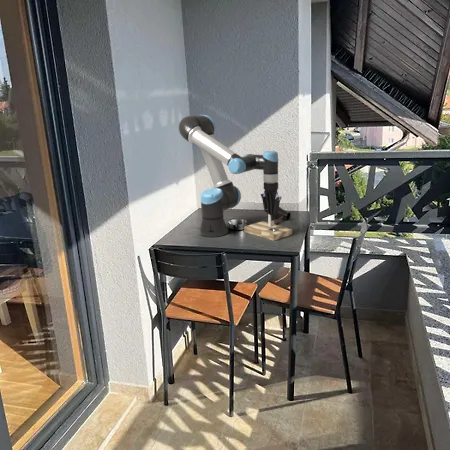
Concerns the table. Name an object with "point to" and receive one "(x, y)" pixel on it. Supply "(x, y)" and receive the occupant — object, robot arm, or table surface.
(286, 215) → the coffee pot
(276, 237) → the wooden board
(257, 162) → the robot arm
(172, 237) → the table surface
